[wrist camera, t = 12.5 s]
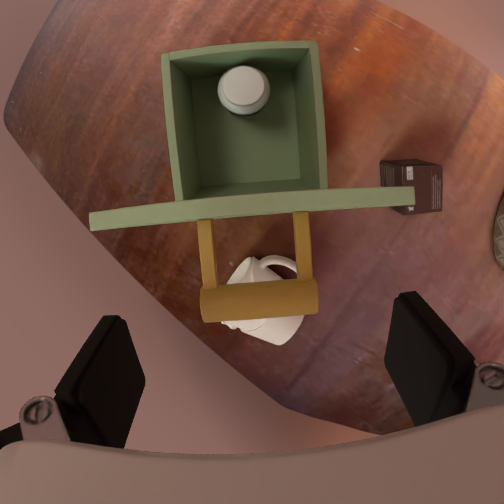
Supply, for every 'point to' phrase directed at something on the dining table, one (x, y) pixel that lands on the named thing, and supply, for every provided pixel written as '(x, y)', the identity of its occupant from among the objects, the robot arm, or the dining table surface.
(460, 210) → the dining table surface
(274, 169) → the chest
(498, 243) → the planter
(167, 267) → the dining table surface
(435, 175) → the box
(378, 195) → the lid
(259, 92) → the pill bottle
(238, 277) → the mug
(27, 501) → the robot arm
